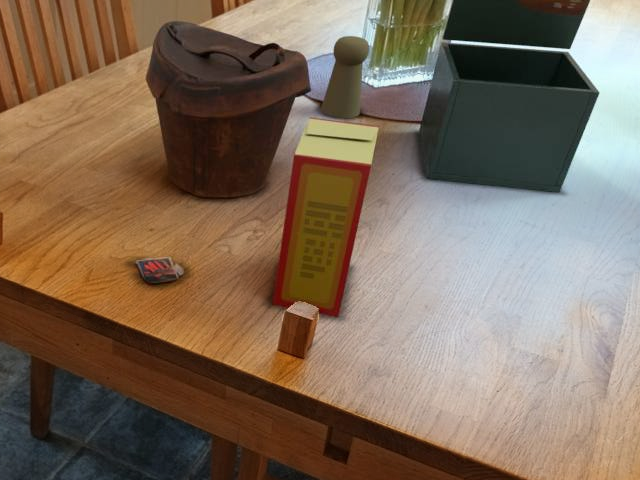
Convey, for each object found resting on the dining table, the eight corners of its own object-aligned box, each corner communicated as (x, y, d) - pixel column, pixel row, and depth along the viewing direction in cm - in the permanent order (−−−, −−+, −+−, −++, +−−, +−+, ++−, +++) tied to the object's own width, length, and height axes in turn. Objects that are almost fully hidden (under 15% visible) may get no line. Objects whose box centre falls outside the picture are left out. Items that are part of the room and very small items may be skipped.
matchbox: (150, 287, 73) (150, 283, 73) (128, 264, 77) (128, 260, 77) (190, 276, 75) (190, 272, 75) (166, 254, 79) (166, 250, 78)
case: (315, 205, 89) (341, 53, 77) (155, 215, 86) (158, 59, 74) (274, 147, 102) (291, 11, 91) (135, 154, 99) (134, 14, 88)
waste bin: (559, 192, 93) (600, 92, 84) (426, 178, 95) (453, 80, 87) (535, 142, 105) (568, 51, 97) (418, 131, 108) (441, 42, 100)
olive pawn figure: (330, 101, 117) (343, 29, 110) (365, 110, 114) (380, 37, 107) (314, 112, 113) (326, 38, 106) (350, 121, 110) (364, 46, 104)
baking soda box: (338, 316, 70) (371, 161, 60) (272, 304, 72) (294, 151, 62) (348, 268, 77) (379, 122, 67) (288, 257, 79) (310, 113, 69)
